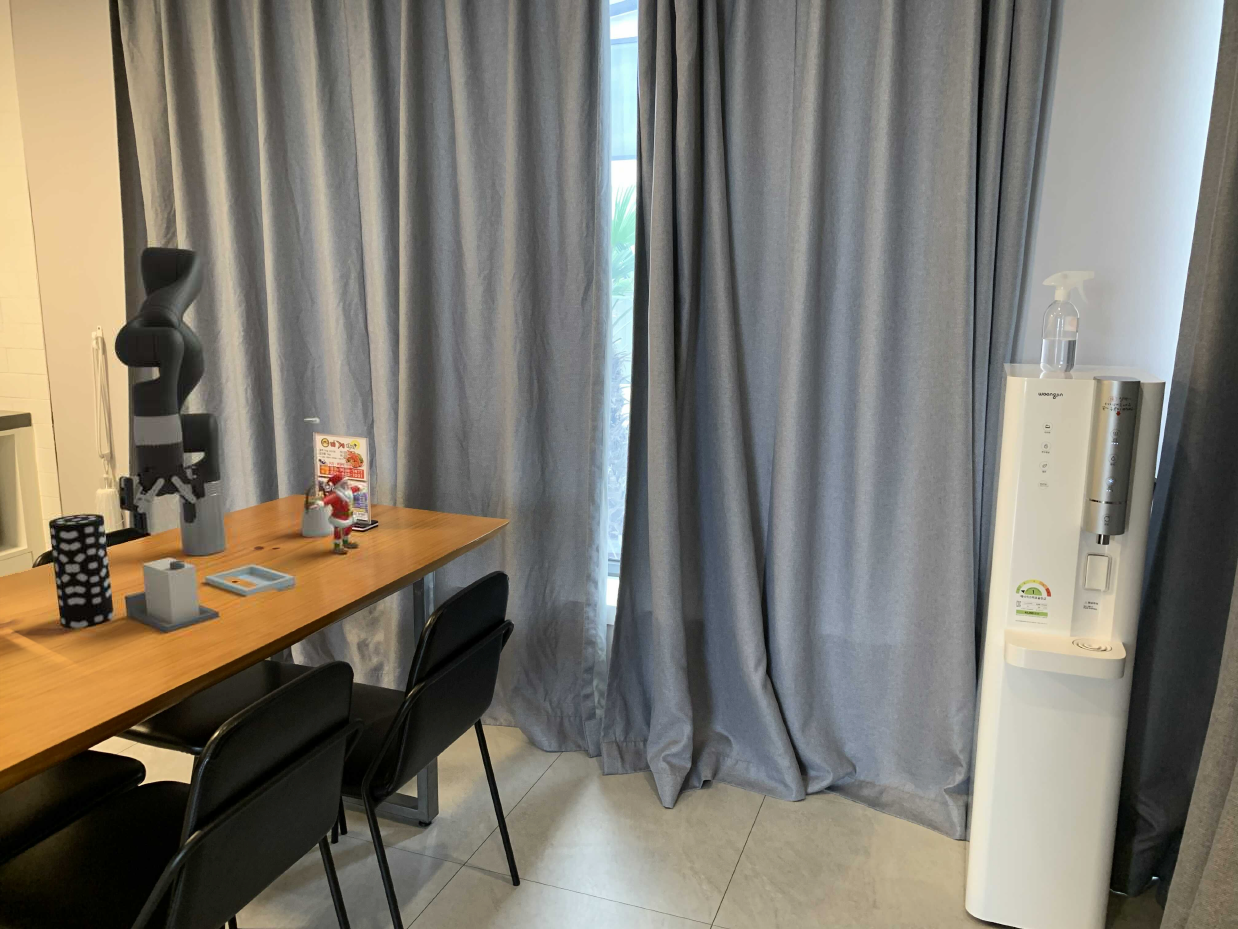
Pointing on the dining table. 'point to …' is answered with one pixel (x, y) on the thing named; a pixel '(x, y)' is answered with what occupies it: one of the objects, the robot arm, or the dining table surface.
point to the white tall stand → (315, 519)
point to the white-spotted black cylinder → (81, 570)
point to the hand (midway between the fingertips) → (166, 527)
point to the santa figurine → (340, 511)
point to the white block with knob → (170, 590)
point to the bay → (139, 613)
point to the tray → (253, 580)
